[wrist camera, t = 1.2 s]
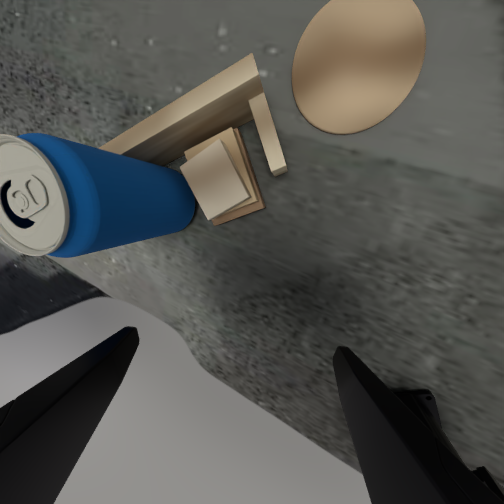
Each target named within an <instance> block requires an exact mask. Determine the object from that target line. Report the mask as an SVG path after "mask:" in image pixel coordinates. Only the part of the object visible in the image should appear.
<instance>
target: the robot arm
mask: <svg viewBox="0 0 504 504" xmlns="http://www.w3.org/2000/svg"><path fill="white" fill-rule="evenodd" d="M138 345H139V336H138V331H137V328H136V327H129V326H128V327H124V328H123V329H121V330H120V331H118V332H117V333H115V334H113V335H112V336H111V337H109V338H107V339H106V340H104V341H103V342H101V343H100V344H98V345H97V346H95V347H93V348H92V349H91V350H89V351H87V352H86V353H84V354H83V355H81V356H80V357H78V358H77V359H75V360H74V361H72V362H70V363H69V364H67V365H66V366H64V367H63V368H61V369H60V370H58V371H57V372H55V373H53V374H52V375H50V376H49V377H47V378H46V379H44V380H43V381H41V382H40V383H38V384H37V385H35V386H34V387H32V388H30V389H29V390H27V391H26V392H24V393H23V394H21V395H20V396H18V397H17V398H16V399H15V400H12V401H10V402H9V403H7V404H6V405H4V406H3V407H1V408H0V504H54V502H55V500H56V498H57V496H58V495H59V493H60V491H61V489H62V488H63V486H64V484H65V482H66V481H67V478H68V477H69V475H70V473H71V472H72V470H73V468H74V466H75V464H76V463H77V461H78V459H79V457H80V455H81V454H82V452H83V450H84V449H85V447H86V445H87V443H88V442H89V440H90V438H91V436H92V434H93V433H94V431H95V429H96V427H97V425H98V424H99V422H100V420H101V418H102V417H103V415H104V413H105V411H106V410H107V408H108V406H109V404H110V402H111V401H112V399H113V397H114V395H115V394H116V392H117V390H118V388H119V386H120V384H121V383H122V381H123V378H124V376H125V374H126V372H127V370H128V367H129V365H130V363H131V361H132V359H133V356H134V354H135V352H136V350H137V347H138ZM333 367H334V372H335V377H336V381H337V386H338V391H339V396H340V400H341V404H342V408H343V411H344V414H345V417H346V421H347V424H348V427H349V431H350V434H351V437H352V440H353V444H354V447H355V450H356V453H357V457H358V460H359V463H360V467H361V470H362V473H363V476H364V479H365V483H366V486H367V489H368V493H369V496H370V499H371V503H372V504H504V489H503V488H502V487H501V485H500V484H499V483H498V482H497V481H496V480H495V478H494V477H493V476H492V475H491V474H490V472H489V471H488V470H487V469H486V468H485V467H484V466H482V467H477V468H476V469H477V470H473V471H470V470H469V469H468V468H467V467H466V466H465V464H464V463H463V461H462V459H461V458H460V456H459V455H458V453H457V452H456V450H455V449H454V447H453V445H452V444H451V442H450V441H449V439H448V438H447V436H446V435H445V433H444V432H443V430H442V427H441V423H440V418H439V414H438V410H437V405H436V401H435V397H434V396H433V394H432V393H431V392H430V391H427V390H423V391H409V392H395V393H393V392H392V391H391V390H390V389H389V388H388V387H387V386H386V385H385V384H384V383H383V382H382V381H381V380H380V379H379V378H378V377H377V376H376V375H375V374H374V373H373V372H372V371H371V370H370V369H369V368H368V367H367V366H366V365H365V364H364V363H363V362H362V361H361V360H360V359H359V358H358V357H357V356H356V355H355V354H354V353H353V352H352V351H351V350H350V349H349V348H348V347H345V346H338V347H337V349H336V351H335V354H334V356H333Z"/></svg>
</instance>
